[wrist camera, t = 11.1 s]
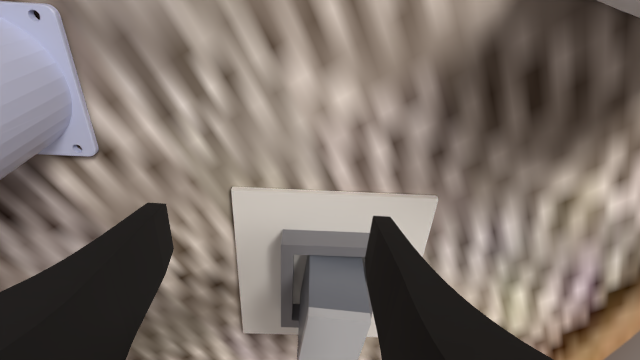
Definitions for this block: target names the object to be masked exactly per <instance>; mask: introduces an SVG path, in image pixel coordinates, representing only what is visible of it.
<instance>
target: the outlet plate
mask: <svg viewBox="0 0 640 360" xmlns="http://www.w3.org/2000/svg"><path fill="white" fill-rule="evenodd" d="M231 194H232V206H233V217H234V229H235V241H236V253H237V265H238V277H239V289H240V301H241V313H242V325H243V333H256V334H289V335H298V329H299V309H300V291H301V286H302V281H303V276H304V271H305V266H306V261H307V256H308V255H320V256H347V257H362V262H363V268H364V275H365V282H366V289H367V295H368V302H369V309H370V316H371V325H370V328H369V331H368V333H367V336H366V337H378V334H377V329H376V325H375V320H374V315H373V311H372V306H371V301H370V297H369V292H368V287H367V279H366V268H365V255H366V250H367V245H368V239H369V234H370V229H371V224H372V219H373V216H388V217H391V218H392V219H393V221H394V222H395V223H396V225H397V226H398V227H399V229H400V230H401V231H402V233H403V234H404V235H405V236H406V238H407V239H408V240H409V242H410V243H411V244H412V245H413V247H414V248H415V249H416V250H417V251H418V253H419V254H420V255H421V256H422V257H423V254H424V250H425V247H426V243H427V240H428V236H429V232H430V229H431V225H432V221H433V218H434V214H435V210H436V207H437V203H438V197H437V196H436V195H414V194H391V193H368V192H345V191H322V190H299V189H277V188H254V187H232V189H231Z"/></svg>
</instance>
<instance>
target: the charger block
mask: <svg viewBox="0 0 640 360" xmlns="http://www.w3.org/2000/svg"><path fill="white" fill-rule="evenodd" d="M370 325H371V316H370V309H369V302H368V295H367V289H366V282H365V275H364V268H363V262H362V257H347V256H320V255H308V256H307V261H306V266H305V271H304V276H303V281H302V286H301V291H300V309H299V329H298V349H297V360H358V358H359V355H360V353H361V350H362V347H363V344H364V342H365V339H366V336H367V333H368V331H369V328H370Z"/></svg>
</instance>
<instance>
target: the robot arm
mask: <svg viewBox="0 0 640 360" xmlns="http://www.w3.org/2000/svg"><path fill="white" fill-rule="evenodd" d="M34 10H36V11H37V12H38V13H39V15H40V20H39V19H37V18H36V17H35V15H34ZM76 145H79V146H80V147H81V148H82V150H81V149H79V148H78V147H77V146H76ZM98 150H99V149H98V144H97V140H96V137H95V134H94V130H93V127H92V123H91V120H90V116H89V113H88V109H87V106H86V102H85V99H84V96H83V92H82V89H81V85H80V82H79V78H78V75H77V71H76V68H75V64H74V61H73V57H72V54H71V51H70V47H69V44H68V40H67V37H66V33H65V30H64V26H63V23H62V19H61V16H60V14H59V12H58V10H57V9H56V8H55V7H53V6H52V5H50V4H44V3H27V2H11V1H0V180H1V179H2V178H3V177H5V176H6V175H8V174H9V173H11V172H12V171H13V170H15V169H16V168H18V167H19V166H20V165H22V164H23V163H25V162H26V161H27V160H29V159H30V158H32V157H33V156H34V155H36V154H45V155H67V156H93V155H95V154H96V153H97V152H98ZM173 249H174V248H173V242H172V236H171V230H170V225H169V219H168V213H167V207H166V204H161V203H147V204H145V205H144V206H142V207H141V208H139V209H138V210H137V211H135V212H134V213H132V214H131V215H130V216H128V217H127V218H125V219H124V220H123V221H121V222H120V223H118V224H117V225H116V226H114V227H113V228H111V229H110V230H108V231H107V232H106V233H104V234H103V235H101V236H100V237H98V238H97V239H95V240H94V241H92V242H91V243H89V244H88V245H86V246H85V247H83V248H81V249H80V250H78V251H77V252H75V253H74V254H72V255H71V256H69V257H67V258H66V259H64V260H62V261H60V262H59V263H57V264H55V265H53V266H52V267H50V268H48V269H46V270H44V271H42V272H41V273H39V274H37V275H35V276H33V277H31V278H29V279H27V280H25V281H23V282H21V283H19V284H16V285H14V286H12V287H10V288H8V289H6V290H4V291H2V292H0V360H126V357H127V355H128V352H129V349H130V347H131V344H132V342H133V340H134V337H135V335H136V333H137V331H138V329H139V327H140V325H141V323H142V321H143V319H144V317H145V315H146V313H147V311H148V309H149V307H150V305H151V303H152V301H153V299H154V297H155V295H156V292H157V290H158V288H159V286H160V284H161V282H162V280H163V278H164V276H165V273H166V271H167V268H168V265H169V262H170V259H171V256H172V252H173ZM365 268H366V279H367V287H368V292H369V297H370V301H371V306H372V311H373V315H374V320H375V325H376V329H377V334H378V339H379V344H380V350H381V356H382V360H553V359H551V358H550V357H548V356H546V355H545V354H543V353H541V352H539V351H538V350H536V349H534V348H533V347H531V346H529V345H528V344H526V343H524V342H523V341H521V340H520V339H518V338H517V337H515V336H514V335H512V334H511V333H509V332H508V331H506V330H505V329H503V328H502V327H500V326H499V325H497V324H496V323H495V322H493V321H492V320H490V319H489V318H488V317H486V316H485V315H484V314H483V313H481V312H480V311H479V310H477V309H476V308H475V307H474V306H472V305H471V304H470V303H469V302H467V301H466V300H465V299H464V298H463V297H462V296H460V295H459V294H458V293H457V292H456V291H455V290H454V289H453V288H452V287H450V286H449V285H448V284H447V283H446V282H445V281H444V280H443V279H442V278H441V277H440V276H439V275H438V274H437V273H436V272H435V271H434V270H433V269H432V268H431V266H430V265H429V264H428V263H427V262H426V261H425V260H424V259H423V257H422V256H421V255H420V254H419V253H418V251H417V250H416V249H415V248H414V247H413V245H412V244H411V243H410V242H409V240H408V239H407V238H406V236H405V235H404V234H403V233H402V231H401V230H400V229H399V227H398V226H397V225H396V223H395V222H394V221H393V219H392V218H391V217H388V216H373V219H372V224H371V229H370V234H369V239H368V245H367V250H366V255H365Z"/></svg>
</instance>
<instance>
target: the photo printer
mask: <svg viewBox="0 0 640 360" xmlns="http://www.w3.org/2000/svg"><path fill="white" fill-rule="evenodd" d="M597 1H599V2H602V3H604V4H606V5H609V6H611V7H613V8H616V9H618V10H621V11H623V12H626V13H629V14H631V15H634V16H637V17H639V18H640V0H597Z"/></svg>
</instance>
